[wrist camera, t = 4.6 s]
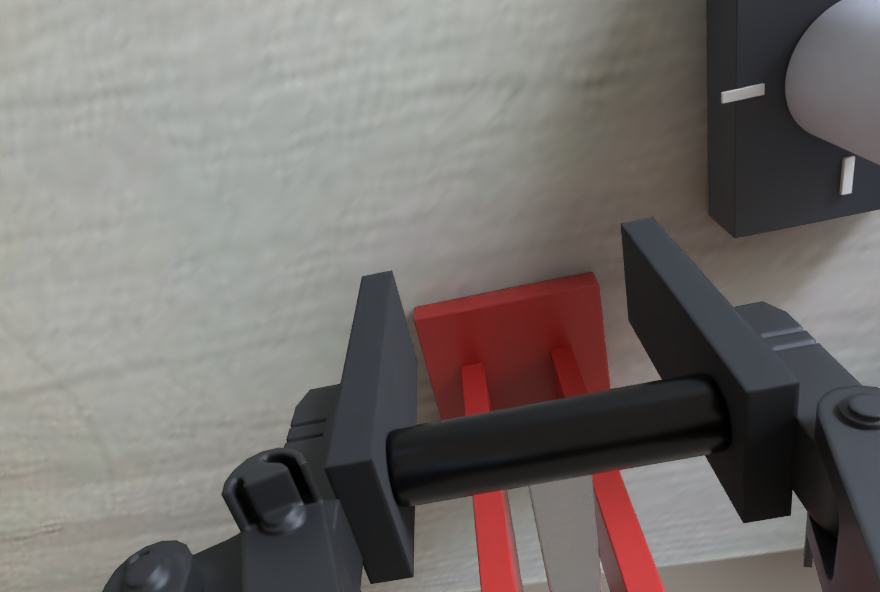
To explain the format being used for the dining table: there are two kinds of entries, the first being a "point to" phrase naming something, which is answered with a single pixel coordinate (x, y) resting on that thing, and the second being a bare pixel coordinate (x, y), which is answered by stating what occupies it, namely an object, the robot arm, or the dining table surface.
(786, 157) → the dial panel
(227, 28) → the dining table surface
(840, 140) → the knob
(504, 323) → the red lever stand
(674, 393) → the lever
